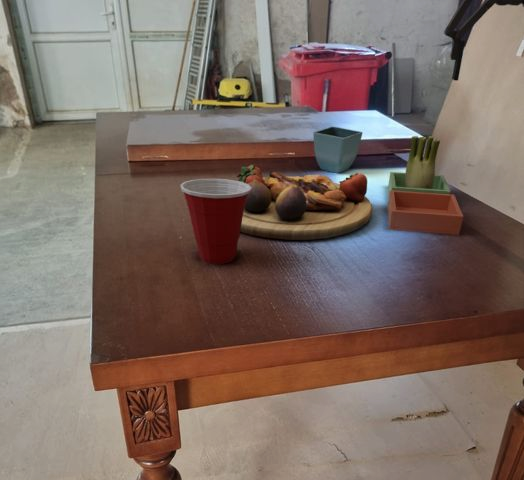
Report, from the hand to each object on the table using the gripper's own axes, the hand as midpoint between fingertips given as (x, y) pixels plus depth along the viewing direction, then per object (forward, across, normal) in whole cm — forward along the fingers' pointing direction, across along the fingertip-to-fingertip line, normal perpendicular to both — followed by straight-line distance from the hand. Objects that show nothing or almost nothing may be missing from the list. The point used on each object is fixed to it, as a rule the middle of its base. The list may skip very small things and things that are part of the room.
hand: (491, 80), depth 100 cm
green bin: (+23, -11, -1) cm, 25 cm away
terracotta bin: (+23, -11, -15) cm, 30 cm away
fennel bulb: (+22, -11, -1) cm, 25 cm away
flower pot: (+22, -29, +16) cm, 40 cm away
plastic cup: (+22, -46, -39) cm, 64 cm away
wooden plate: (+22, -36, -15) cm, 45 cm away
